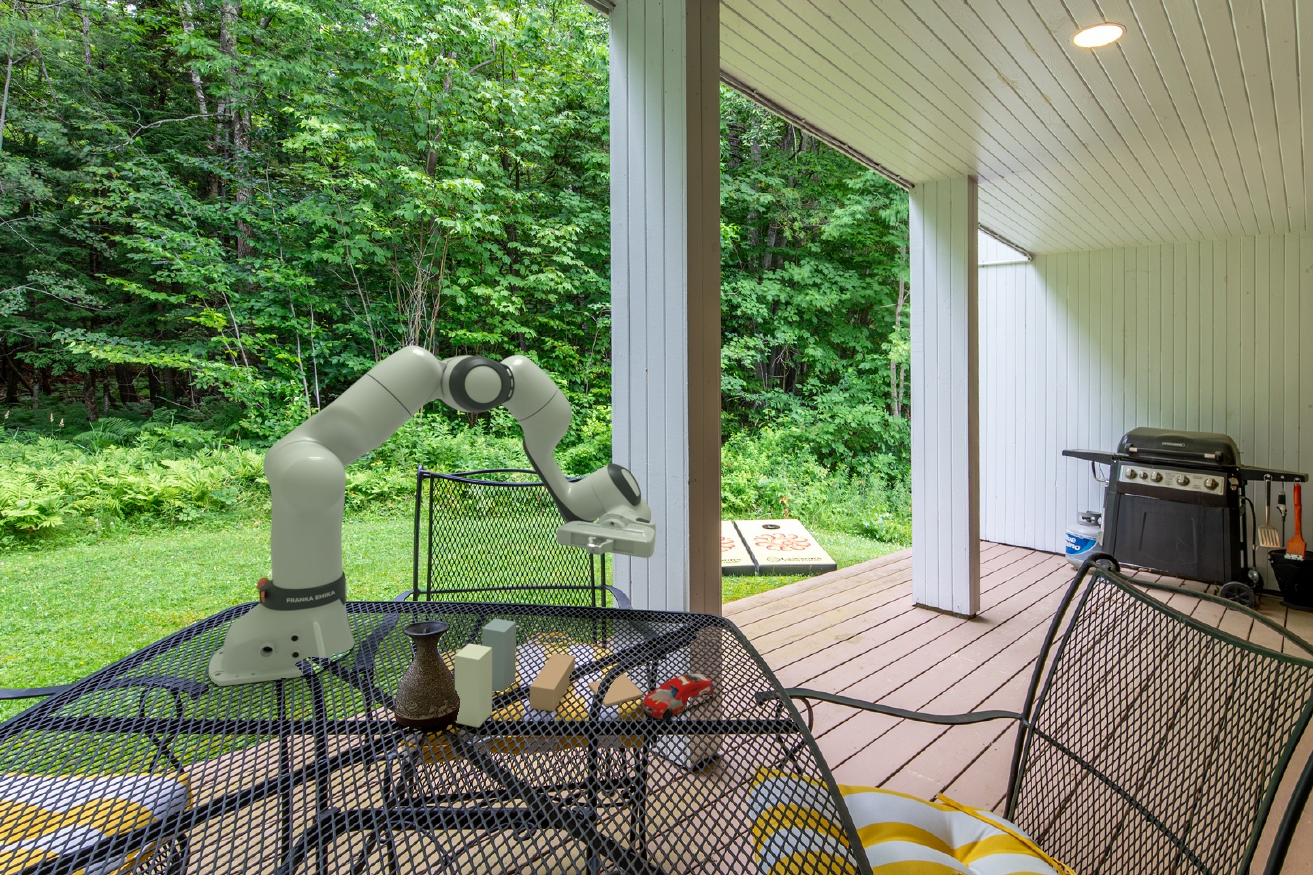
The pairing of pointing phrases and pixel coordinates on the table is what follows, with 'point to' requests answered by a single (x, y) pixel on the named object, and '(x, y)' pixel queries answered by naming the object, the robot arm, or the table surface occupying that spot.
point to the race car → (676, 695)
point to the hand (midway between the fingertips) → (593, 550)
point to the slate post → (501, 651)
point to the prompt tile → (618, 691)
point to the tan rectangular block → (551, 682)
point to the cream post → (474, 684)
